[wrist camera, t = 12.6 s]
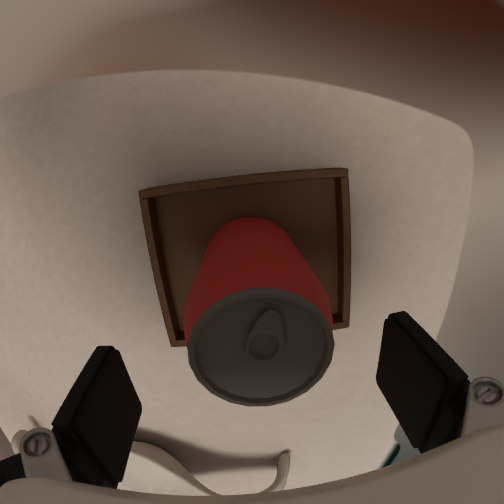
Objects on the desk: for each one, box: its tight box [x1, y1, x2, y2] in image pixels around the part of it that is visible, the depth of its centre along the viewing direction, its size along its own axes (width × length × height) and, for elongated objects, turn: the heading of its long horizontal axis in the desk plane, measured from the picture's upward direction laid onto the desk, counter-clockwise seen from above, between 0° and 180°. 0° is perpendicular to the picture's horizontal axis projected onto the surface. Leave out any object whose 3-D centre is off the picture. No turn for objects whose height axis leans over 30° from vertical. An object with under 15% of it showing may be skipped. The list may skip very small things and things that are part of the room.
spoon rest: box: [118, 441, 290, 496], centre depth 26 cm, size 24×12×7 cm, turn 90°
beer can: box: [183, 217, 335, 406], centre depth 16 cm, size 7×7×12 cm
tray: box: [139, 168, 351, 347], centre depth 22 cm, size 12×14×2 cm
